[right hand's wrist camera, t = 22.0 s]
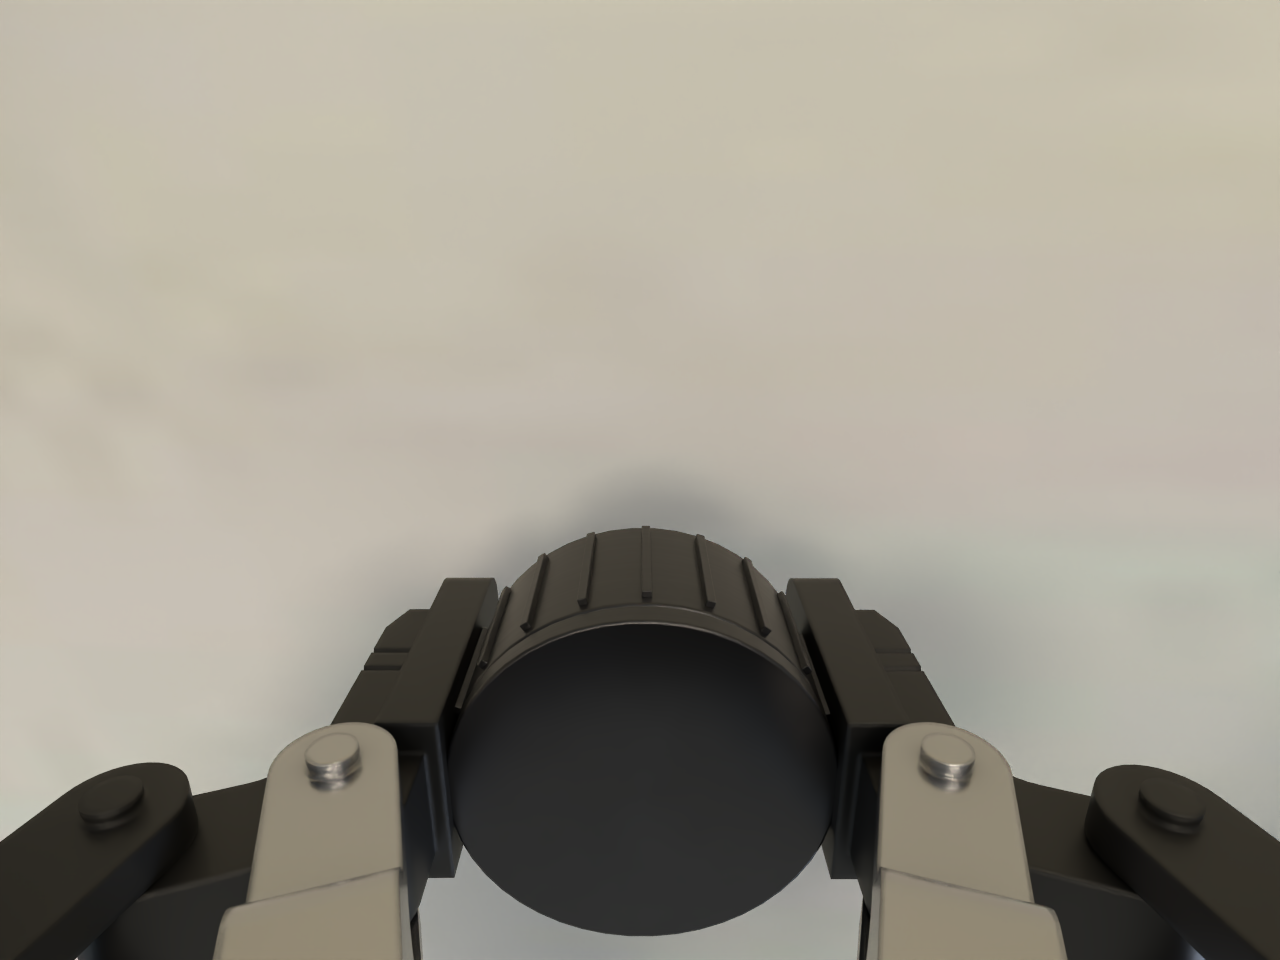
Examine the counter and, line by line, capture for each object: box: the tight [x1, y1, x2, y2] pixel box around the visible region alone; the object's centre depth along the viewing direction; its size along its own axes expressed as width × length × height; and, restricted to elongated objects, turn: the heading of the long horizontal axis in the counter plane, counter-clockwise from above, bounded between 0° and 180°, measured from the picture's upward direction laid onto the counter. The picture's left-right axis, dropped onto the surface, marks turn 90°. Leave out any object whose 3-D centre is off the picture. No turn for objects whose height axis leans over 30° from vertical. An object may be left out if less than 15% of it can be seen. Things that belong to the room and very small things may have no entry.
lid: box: [447, 526, 838, 936], centre depth 10 cm, size 5×5×2 cm
